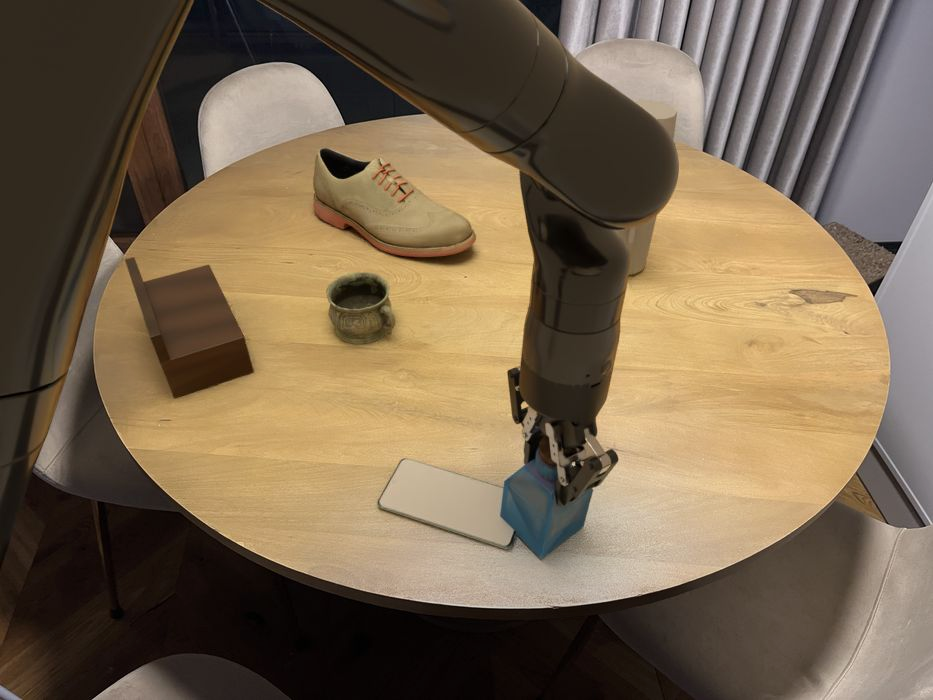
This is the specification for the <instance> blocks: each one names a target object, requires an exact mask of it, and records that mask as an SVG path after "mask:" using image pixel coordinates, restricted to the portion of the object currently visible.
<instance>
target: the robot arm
mask: <svg viewBox="0 0 933 700" xmlns="http://www.w3.org/2000/svg"><path fill="white" fill-rule="evenodd" d="M256 1H257V2H259V3H261V4H263V5H264V6H265V7H267V8H269V9H271V10H272V11H274V12H275V13H277V14H279V15H281V16H282V17H284V18H285V19H287V20H289V21H290V22H292V23H294V24H295V25H297V26H298V27H299V28H301V29H302V30H304V31H306V32H307V33H308V34H310V35H312V36H313V37H315V38H317V39H318V40H319V41H321V42H322V43H324V44H326V45H327V46H328V47H330V48H331V49H333V50H334V51H336V52H337V53H338V54H340V55H341V56H343V57H345V58H346V59H347V60H349V62H352V63H353V64H354V65H356V67H358V68H360V69H361V70H363V71H364V72H365V73H367V74H369V75H370V76H371V77H373V78H374V79H375V80H377V81H378V82H380V83H381V84H382V85H384V86H385V87H387V88H389V89H390V90H391V91H393V92H394V93H396V94H397V95H398V96H399V97H401V98H402V99H404V100H405V101H407V102H408V103H409V104H411V105H413V106H414V107H415V108H417V109H418V110H420V111H421V112H423V113H424V114H425V115H427V116H429V118H431V119H433V120H434V121H436V122H437V123H438V124H439V125H441V126H443V127H444V128H445V129H447V130H449V131H450V132H452V133H454V134H455V135H457V136H458V137H460V138H462V139H463V140H464V141H466V142H468V143H469V144H471V145H472V146H473V147H475V148H476V149H478V150H480V151H482V152H483V153H485V154H487V155H488V156H490V157H492V158H494V159H496V160H499V161H501V162H502V163H504V164H507V165H509V166H510V167H512V168H515V169H517V170H518V174H519V185H520V193H521V199H522V205H523V210H524V217H525V223H526V228H527V234H528V238H529V242H530V246H531V250H532V255H533V256H532V257H533V263H532V270H531V280H530V291H529V292H530V293H529V301H528V307H527V311H526V314H525V320H524V324H523V333H522V345H521V346H522V347H521V355H520V365H518V366H515V367H513V368H510V369H508V370H507V371H506V375H507V383H508V393H509V402H510V410H511V418H512V421H513V423H514V424H515V425H521V427H522V429H521V436H522V438H523V440H524V444H523V456H524V457H523V464H524V465H526V464H527V463H529V462H530V461H532V460H533V459H535V457H536V451H537V449H538V447H539V443H540V441H541V439H542V438H543V437H545V436H548V438H549V442H550V451H551V459H552V461H553V462H555V463H556V464H557V473H558V477H557V478H556V485H555V491H554V492H555V498H556V504H557V505H558V506H561V505H564V506H565V505H567V504H569V503H571V502H573V501H575V500H577V499H578V496H579V495H581V494H582V493H584V492H586V491H588V490H590V489H595V488H597V487H599V486H601V485H602V483H603V482H604V481H605V479H607V477H608V475H609V474H610V473H611V471H613V469H614V468H615V467H616V465H617V464H618V463H619V456H618V453H617V452H616V451H615V449H613V448H610V449H608V450H606V451H605V449H604V448H603V446H602V445H601V444H600V442H599V440H597V435H598V425H597V417H598V415H599V413H600V412H601V410H602V408H603V407H604V406H605V403H606V401H607V398H608V396H609V392H610V391H609V390H610V386H611V382H612V381H611V380H612V378H613V377H612V376H613V372H614V367H615V361H616V356H617V352H618V348H619V342H620V337H621V320H622V319H621V317H622V313H623V308H624V303H625V298H626V293H627V288H628V282H629V279H630V275H629V272H630V264H631V259H630V254H629V250H628V248H627V246H626V244H625V243H624V241H623V240H622V239H621V238H620V237H619V235H618V234H617V233H616V232H615V231H614V230H625V229H631V228H634V227H637V226H640V225H642V224H644V223H646V222H648V221H650V220H651V219H653V218H654V217H655V216H656V215H657V216H658V215H659V214H660V213H661V212H662V211H663V210H664V209H665V208H666V206H667V205H668V203H669V202H670V201H671V198H672V196H673V194H674V192H675V190H676V187H677V184H678V179H679V172H680V162H679V161H680V160H679V153H678V149H677V147H676V142H675V140H674V141H673V139H672V137H671V135H670V134H669V132H668V131H667V129H666V128H665V127H664V126H663V125H662V124H661V123H660V122H659V121H658V120H657V119H656V118H655V117H654V116H652V115H651V114H650V113H649V112H647V111H646V110H645V109H643V108H642V107H641V106H639V105H638V104H637V103H635V102H636V101H634V100H633V99H631V98H629V96H627V95H626V94H624V93H622V91H620V90H619V89H617V88H616V87H615V86H613V85H611V84H610V83H609V82H607V81H605V80H604V79H603V78H601V77H600V76H598V75H596V74H595V73H593V71H591V70H589V69H588V67H586V66H585V65H583V64H582V63H581V62H580V61H579V59H577V58H576V57H575V56H574V55H573V54H572V53H571V52H570V51H569V49H568V48H567V47H566V46H565V44H564V43H563V42H562V41H561V40H560V39H559V38H557V36H556V35H555V34H554V33H553V32H552V31H551V30H550V29H549V28H548V27H547V26H546V25H545V24H544V23H543V22H542V21H541V20H540V19H539V18H538V17H537V16H535V14H534V13H533V12H531V10H529V9H528V8H527V7H526V6H525V5H524V4H523V3H522V2H521V1H520V0H256ZM194 2H195V0H0V571H1V569H2V566H3V563H4V560H5V557H6V554H7V552H8V549H9V545H10V541H11V539H12V536H13V532H14V529H15V526H16V523H17V519H18V516H19V513H20V510H21V508H22V504H23V501H24V498H25V494H26V491H27V489H28V486H29V483H30V480H31V477H32V475H33V472H34V468H35V466H36V464H37V461H38V460H39V457H40V453H41V452H42V449H43V446H44V443H45V441H46V439H47V437H48V434H49V432H50V428H51V425H52V423H53V419H54V416H55V413H56V410H57V407H58V404H59V401H60V398H61V395H62V392H63V389H64V386H65V383H66V381H67V380H66V379H67V377H68V374H69V370H70V367H71V365H72V362H73V357H74V354H75V350H76V346H77V342H78V339H79V335H80V332H81V328H82V324H83V320H84V316H85V312H86V310H87V305H88V303H89V299H90V296H91V294H92V290H93V288H94V285H95V282H96V279H97V275H98V272H99V269H100V266H101V263H102V261H103V257H104V254H105V250H106V248H107V244H108V240H109V237H110V235H111V230H112V227H113V224H114V220H115V216H116V213H117V210H118V206H119V203H120V199H121V195H122V191H123V188H124V187H123V186H124V183H125V179H126V176H127V172H128V171H127V170H128V168H129V164H130V160H131V157H132V153H133V150H134V147H135V144H136V140H137V136H138V134H139V131H140V127H141V124H142V122H143V119H144V117H145V114H146V110H147V109H148V105H149V103H150V101H151V98H152V96H153V93H154V91H155V89H156V87H157V84H158V82H159V79H160V77H161V75H162V72H163V69H164V67H165V66H166V65H165V64H166V63H167V61H168V58H169V57H170V54H171V52H172V50H173V47H174V45H175V44H176V41H177V38H178V37H179V34H180V32H181V30H182V28H183V26H184V24H185V21H186V20H187V17H188V16H189V13H190V11H191V8H192V7H193V4H194ZM524 402H525V403H526V405H527V406H526V407H523V408H522V404H523V403H524ZM571 463H572V464H574V465H573V467H571V468H569V465H570V464H571Z"/></svg>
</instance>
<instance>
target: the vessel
mask: <svg viewBox="0 0 933 700" xmlns="http://www.w3.org/2000/svg"><path fill="white" fill-rule="evenodd" d="M325 292H326V299H327V301H328V303H329V307H328V317H329V320H330V322H331V324H332V325H333V326H334V327H335V332H336V334H337V337H338V338H340V339H341V340H342V341H344V342H347V343H349V344H350V343H351V344H356V345H358V344H359V345H365V344H369V343H370V344H371V343H373V342H376V341H379V340H380V339H382V338H383V337H384V336H385V335H386V336H392V333H393V332H392V331H393V329H394V328H395V326H396V317H395V315H394V313H393V311H392V302H391V300H390V297H389V295H390V284H389V282H388V280H387V279H386V278H384V277H383V276H381V275H380V274H377V273H373V272H367V271H366V272H365V271H358V272H353V273H347V274H343V275H341V276H339V277H337V278H335V279H333V281H331V283H329V284H328V286H327V287H326V291H325ZM389 322H390V323H389Z"/></svg>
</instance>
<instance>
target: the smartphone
mask: <svg viewBox="0 0 933 700" xmlns="http://www.w3.org/2000/svg"><path fill="white" fill-rule="evenodd" d="M503 487H504V486H500V485H497V484H493V483H490V482H487V481H483V480H480V479H477V478H474V477H470V476H466V475H463V474H460V473H457V472H453V471H450V470H447V469H444V468H441V467H437V466H434V465H431V464H428V463H425V462H421V461H418V460H414V459H410V458H407V457H404V458H402V459H400V460H399V462H398V464H397V466H396V468H395V469H394V471H393V473H392V474H391V476H390V478H389V480H388V481H387V484H386V485H385V486H384V489H383V491H382V492H381V494H380V496H379V498H378V499H377V506H378V508H380V509H382V510H385V511H388V512H391V513H394V514H397V515H400V516H403V517H406V518H409V519H412V520H416V521H418V522H422V523H424V524H428V525H431V526H434V527H437V528H439V529H443V530H446V531H449V532H452V533H455V534H459V535H461V536H465V537H468V538H470V539H473V540H477V541H480V542H483V543H485V544H489V545H492V546H496V547H498V548H501V549H505V550H508V549H511V548H512V546H513V545H514V543H515V539H516V536H517V535H516V534H517V533H516V531H515V530H514V529H513V528H512V527H511V526H510V525H509V524H507V523H506V522H505V521H504V520H503V519H502V518H501V517H500V512H501V504H502V496H503Z"/></svg>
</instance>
